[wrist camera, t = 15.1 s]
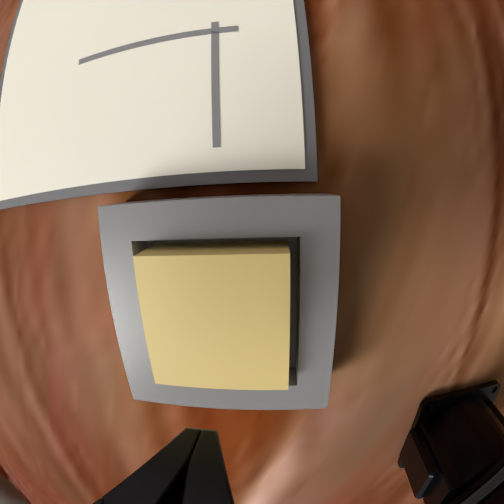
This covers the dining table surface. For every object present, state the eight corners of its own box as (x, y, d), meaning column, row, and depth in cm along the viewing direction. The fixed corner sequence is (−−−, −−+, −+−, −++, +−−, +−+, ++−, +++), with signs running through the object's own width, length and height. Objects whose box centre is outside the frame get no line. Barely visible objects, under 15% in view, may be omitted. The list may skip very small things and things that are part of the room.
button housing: (328, 193, 12) (340, 195, 10) (321, 377, 14) (327, 407, 12) (124, 202, 13) (97, 206, 11) (149, 373, 15) (133, 399, 13)
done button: (287, 241, 12) (290, 253, 10) (286, 360, 13) (288, 389, 11) (155, 244, 12) (132, 256, 10) (170, 357, 14) (155, 383, 11)
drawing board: (286, -93, 8) (286, -99, 8) (316, 181, 12) (318, 181, 12) (33, -25, 10) (28, -28, 9) (0, 209, 14) (-8, 210, 13)
